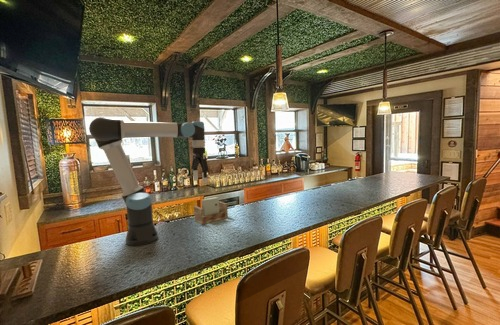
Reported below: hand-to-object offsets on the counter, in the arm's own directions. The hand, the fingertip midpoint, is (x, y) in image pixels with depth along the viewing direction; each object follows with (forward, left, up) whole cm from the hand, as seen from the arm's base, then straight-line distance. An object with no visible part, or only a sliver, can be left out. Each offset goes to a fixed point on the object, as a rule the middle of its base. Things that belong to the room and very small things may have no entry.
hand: (200, 181), depth 154 cm
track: (+5, -3, -24) cm, 25 cm away
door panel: (+5, -3, -23) cm, 24 cm away
